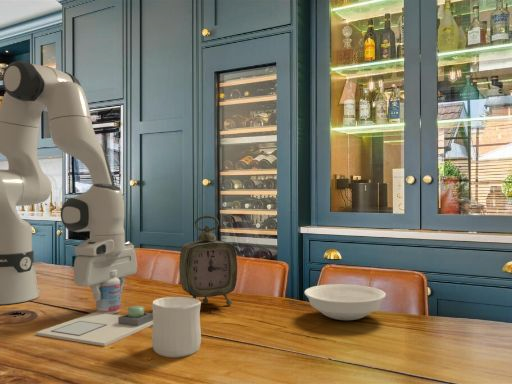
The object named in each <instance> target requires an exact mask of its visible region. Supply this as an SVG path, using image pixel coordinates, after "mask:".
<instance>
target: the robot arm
mask: <svg viewBox="0 0 512 384" xmlns="http://www.w3.org/2000/svg"><path fill="white" fill-rule="evenodd" d="M2 74H3V75H2V84H3V88H4V90H5V92H4V95H3V98H2V101H1V104H0V105H1V106H0V154H1V155H3V156H4V157H5V159H6V160H7V163H8V169H0V305H10V304H17V303H18V304H19V303H24V302H27V301H33V300H34V299H37V298H38V297H39V296H40V295H39V294H41V289H39V288H38V281H37V273H36V272H37V271H36V267H34V265H33V263H34V262H35V254H34V252H35V251H34V250H33V235H32V234H33V232H32V230H33V227H32V226H31V224H30V223H29V222H28V221H27V220H24V219H23V218H21V217H20V215H19V213H18V211H17V207H20V206H21V207H22V206H33V205H37V204H41V203H44V202H45V201H47V200H48V199H49V197H50V195H52V194H51V193H52V182H51V180H50V178H49V177H48V175H47V174H46V173H44V171H43V169H42V167H41V165H40V162H39V158H38V144H39V143H38V142H39V135H40V134H39V133H40V126H41V117H42V113H43V111H44V110H45V109H47V118H48V119H47V120H48V128H49V133H50V137H51V140H52V142H53V144H54V145H55V146H56V147H57V148H58V149H59V150H60V151H61V152H63V153H65V154H67V155H69V156H71V157H72V158H75V159H76V160H78V161H79V162H80V163H82V164H83V165H84V166H85V168H86V169H87V170H88V172H89V176H90V179H91V182H92V185H91V186H90V187H89V189H88V190H87V191H85V192H83V193H81V194H78V195H77V196H73V197H70V198H68V199H66V200H65V201H64V202H63V204H62V206H61V209H60V220H61V222H62V224H63V226H64V227H65V228H66V230H68V231H70V232H74V233H75V232H76V233H81V232H89V238H87V240H85V241H83V242H82V243H80V244H78V245H76V246H75V247H74V254H75V256H76V258H75V259H74V263H73V281H74V284H75V285H76V286H78V287H89V288H90V289H89V290H91V293H93V300H94V301H99V300H102V299H103V293H100V290H99V288H98V287H100V283H102V282H106V281H108V280H110V279H111V277H110V271H113V270H117V276H116V278H118V279H119V280H120V295H121V294H123V287H124V284H125V283H126V277H128V276H131V275H132V276H133V275H135V274H136V272H137V271H138V262H137V253H136V251H135V245H134V244H133V243H132V242H131V241H126V239H125V238H126V236H125V232H126V231H125V228H124V220H125V201H124V195H123V194H124V193H123V191H122V188H120V187H119V186H118V185H115V181H114V178H113V173H112V170H111V166H110V164H109V160H108V156H107V152H106V151H105V148H104V147H103V144H101V142H100V141H99V139H98V137H97V135H96V132H95V130H94V126H93V123H92V117H91V116H92V115H91V110H90V106H89V102H88V99H87V97H86V93H85V91H84V89H83V87H82V85H81V82H80V81H79V79H77V78H76V77H75V76H74V75H73V74H71V73H69V72H67V71H62V70H59V69H58V68H57V69H56V68H54V67H51V66H48V65H41V64H37V63H31V62H29V61H22V60H21V61H18V60H17V61H13V62H11V63H9V64H8V65H7V66H6V68H5V69H4V71H3V73H2Z"/></svg>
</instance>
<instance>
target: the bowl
mask: <svg viewBox="0 0 512 384" xmlns="http://www.w3.org/2000/svg"><path fill="white" fill-rule="evenodd" d="M304 295H305V296H306V297H307V299H308V301H309V303H310V306H311V307H312V308H314V309H316V310H317V311H318V312H319V313H321V314H322V315H324V316H326V317H327V318H330V319H334V320H339V321H354V320H355V321H356V320H360V319H362V318H364V317H366V316H368V315H370V314H372V313H374V311H376V310H378V309H379V308H380V306H381V303H382V301H383V300H384V299H385V298H386V296H387V294H386V292H385V291H383V290H382V289H379V288H376V287H372V286H367V285H359V284H350V283H349V284H348V283H334V284H333V283H332V284H321V285H315V286H311V287H308V288H306V289H305V290H304Z"/></svg>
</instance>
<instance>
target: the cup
mask: <svg viewBox="0 0 512 384" xmlns="http://www.w3.org/2000/svg"><path fill="white" fill-rule="evenodd" d="M201 305H202V301H200V299H197V298H196V299H195V298H193V297H190V296H189V297H187V296H166V297H161V298H160V297H159V298H156V299H154V300H153V301H152V303H151V307H152V313H153V325H152V328H151V329H152V330H151V346H152V349H153V351H154V352H155V354H156V355H157V354H158V355H160V356H162V357H165V358H166V357H167V358H183V357H187V356H191V355H193V354H195V353H197V352H198V351H199V349H200V347H201V343H202V334H201V333H202V330H201V320H200V319H201V318H200V311H201Z"/></svg>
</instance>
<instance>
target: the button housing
mask: <svg viewBox="0 0 512 384" xmlns="http://www.w3.org/2000/svg"><path fill="white" fill-rule="evenodd" d="M152 320H153V312H146V311H144V316H142V317H140V318H130V317H128V313H125V314H123V315H120V317H118V324H123V325H131V326H141V325H143V324H145V323H147V322H150V321H152Z"/></svg>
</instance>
